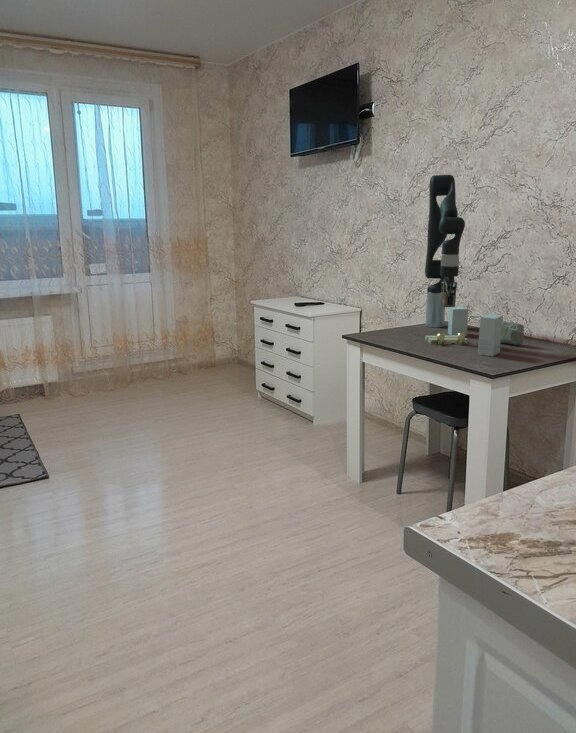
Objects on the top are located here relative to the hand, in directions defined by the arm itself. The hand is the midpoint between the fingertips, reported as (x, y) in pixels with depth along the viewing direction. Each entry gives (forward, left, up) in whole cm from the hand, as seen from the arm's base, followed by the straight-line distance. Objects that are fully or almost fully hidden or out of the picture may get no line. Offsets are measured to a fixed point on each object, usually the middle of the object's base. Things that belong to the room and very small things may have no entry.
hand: (447, 304), depth 261 cm
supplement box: (-16, +11, -17) cm, 26 cm away
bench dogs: (+7, 0, -17) cm, 18 cm away
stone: (+9, +25, -17) cm, 32 cm away
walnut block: (0, 0, -1) cm, 1 cm away
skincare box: (+26, +9, -17) cm, 32 cm away
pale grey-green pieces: (0, 0, -17) cm, 17 cm away
